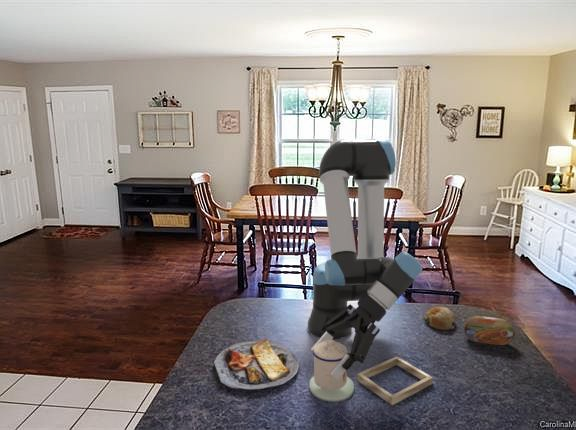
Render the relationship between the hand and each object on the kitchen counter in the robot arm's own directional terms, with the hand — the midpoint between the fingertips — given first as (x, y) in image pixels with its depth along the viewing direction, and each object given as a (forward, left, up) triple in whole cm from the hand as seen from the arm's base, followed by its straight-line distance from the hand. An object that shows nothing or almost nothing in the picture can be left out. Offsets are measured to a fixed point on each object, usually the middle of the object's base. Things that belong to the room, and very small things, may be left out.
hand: (323, 364), depth 115 cm
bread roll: (-6, +58, -8) cm, 59 cm away
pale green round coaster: (0, +3, -8) cm, 8 cm away
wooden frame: (+8, +19, -8) cm, 22 cm away
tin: (+10, +61, -8) cm, 62 cm away
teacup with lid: (+1, +2, -5) cm, 5 cm away
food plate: (-20, -9, -8) cm, 23 cm away
